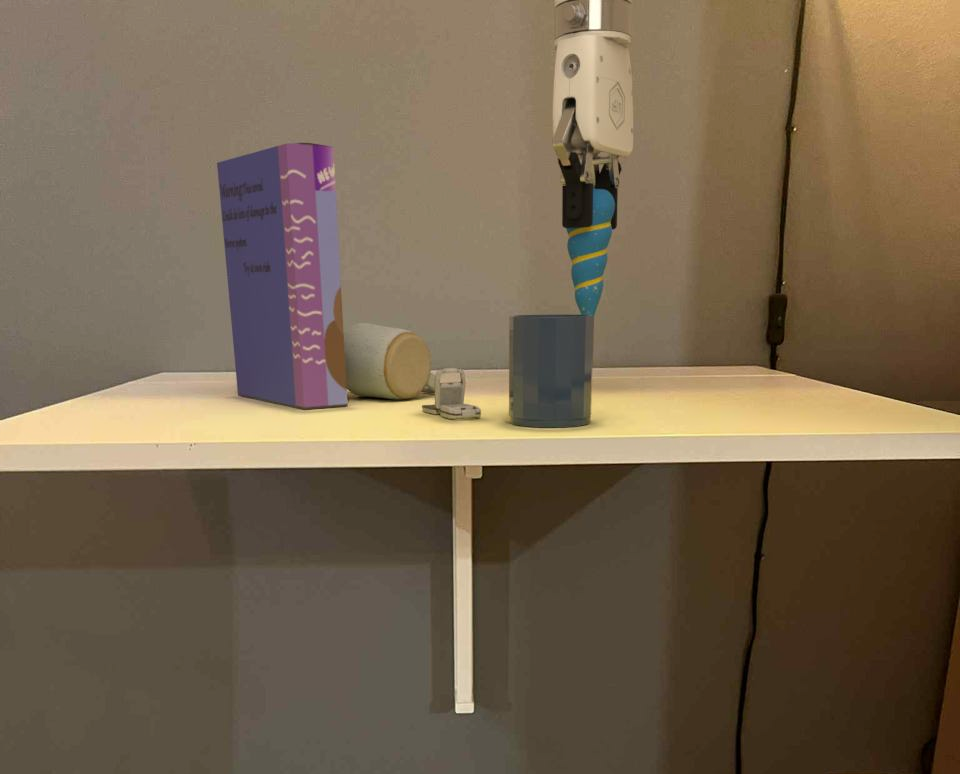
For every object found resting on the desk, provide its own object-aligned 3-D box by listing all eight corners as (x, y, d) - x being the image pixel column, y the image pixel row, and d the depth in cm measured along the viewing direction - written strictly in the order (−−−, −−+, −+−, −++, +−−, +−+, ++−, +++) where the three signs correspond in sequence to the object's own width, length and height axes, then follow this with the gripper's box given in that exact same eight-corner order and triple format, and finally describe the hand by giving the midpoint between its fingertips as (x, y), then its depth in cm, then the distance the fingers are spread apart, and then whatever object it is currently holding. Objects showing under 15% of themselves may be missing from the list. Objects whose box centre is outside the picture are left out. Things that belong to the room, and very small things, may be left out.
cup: (604, 419, 88) (607, 314, 85) (567, 429, 83) (570, 317, 80) (534, 415, 92) (535, 314, 89) (494, 424, 86) (494, 316, 83)
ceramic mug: (388, 403, 102) (386, 325, 99) (335, 397, 107) (332, 323, 104) (457, 396, 109) (457, 323, 107) (405, 391, 114) (404, 322, 112)
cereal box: (347, 406, 100) (333, 144, 92) (304, 409, 97) (286, 140, 89) (277, 392, 114) (259, 163, 105) (238, 395, 111) (216, 160, 103)
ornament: (604, 324, 109) (607, 175, 104) (618, 325, 104) (622, 169, 99) (559, 325, 108) (560, 175, 103) (571, 326, 103) (572, 169, 98)
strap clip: (484, 419, 90) (484, 370, 88) (453, 420, 89) (453, 372, 87) (447, 409, 97) (447, 364, 96) (419, 410, 96) (418, 365, 95)
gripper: (589, 3, 88) (586, 222, 94) (661, 41, 102) (654, 230, 108) (516, 17, 92) (518, 227, 98) (595, 51, 106) (592, 233, 112)
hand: (590, 226), depth 103 cm, fingers closed on ornament, 5 cm apart
